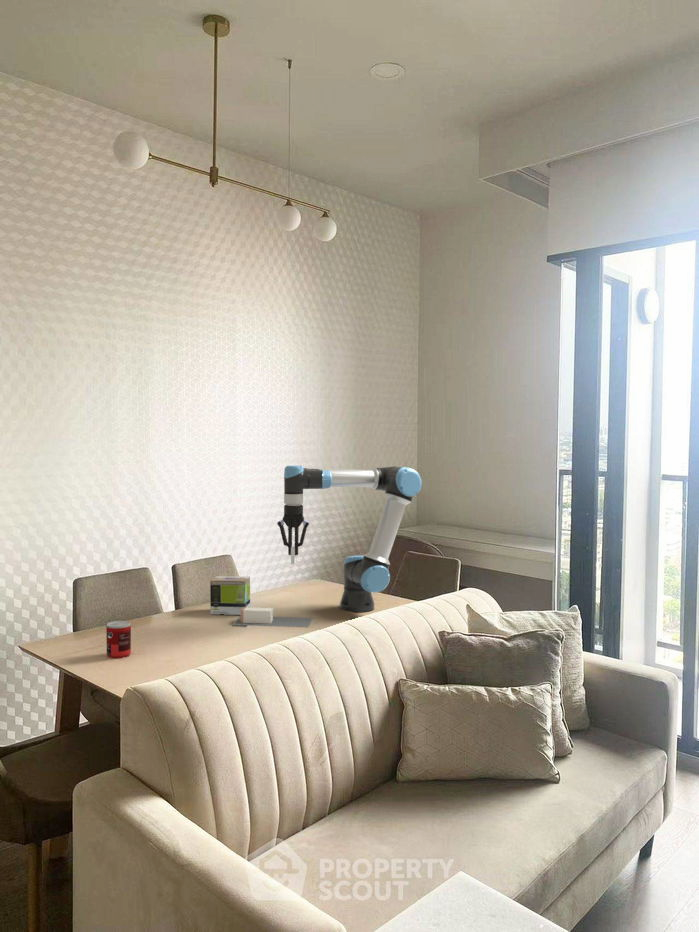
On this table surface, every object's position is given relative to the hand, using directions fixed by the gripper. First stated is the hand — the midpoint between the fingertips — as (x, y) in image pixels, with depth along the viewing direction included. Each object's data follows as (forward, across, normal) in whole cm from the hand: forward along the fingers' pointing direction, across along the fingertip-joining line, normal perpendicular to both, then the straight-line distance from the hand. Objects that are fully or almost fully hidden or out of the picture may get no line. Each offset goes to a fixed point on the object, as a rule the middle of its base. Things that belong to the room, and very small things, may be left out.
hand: (293, 563), depth 286 cm
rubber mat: (+24, +8, -1) cm, 26 cm away
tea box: (+25, +29, -15) cm, 41 cm away
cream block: (+21, +8, 0) cm, 23 cm away
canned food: (+25, +53, +46) cm, 74 cm away
